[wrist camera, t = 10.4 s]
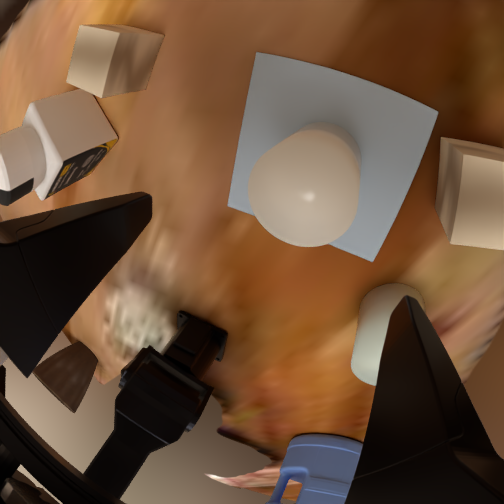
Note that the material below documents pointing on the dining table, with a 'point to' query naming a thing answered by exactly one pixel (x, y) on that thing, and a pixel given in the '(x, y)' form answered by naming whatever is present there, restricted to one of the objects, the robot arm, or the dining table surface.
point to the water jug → (319, 468)
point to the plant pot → (68, 374)
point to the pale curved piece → (376, 327)
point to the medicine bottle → (53, 146)
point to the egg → (308, 185)
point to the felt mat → (349, 118)
